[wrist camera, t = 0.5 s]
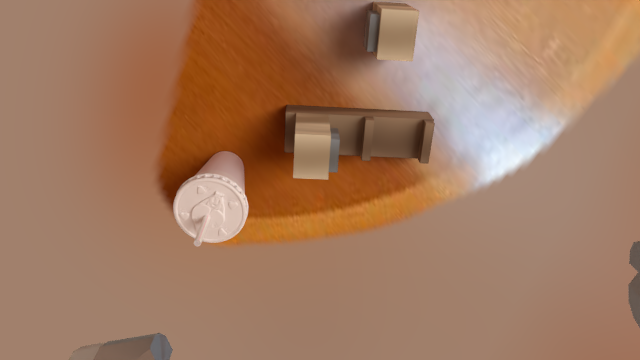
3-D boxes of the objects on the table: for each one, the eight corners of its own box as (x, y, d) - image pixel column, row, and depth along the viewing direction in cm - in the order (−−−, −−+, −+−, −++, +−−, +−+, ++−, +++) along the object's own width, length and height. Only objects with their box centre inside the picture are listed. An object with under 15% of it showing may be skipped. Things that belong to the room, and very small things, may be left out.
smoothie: (184, 179, 53) (146, 252, 40) (210, 127, 51) (177, 187, 38) (241, 205, 54) (220, 283, 42) (267, 156, 52) (255, 222, 39)
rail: (286, 104, 50) (282, 133, 42) (428, 112, 51) (449, 141, 43) (285, 143, 52) (281, 177, 44) (422, 149, 52) (442, 184, 45)
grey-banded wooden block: (364, 1, 46) (372, 8, 41) (405, 3, 46) (419, 11, 41) (360, 46, 48) (367, 58, 42) (400, 48, 48) (412, 61, 43)
